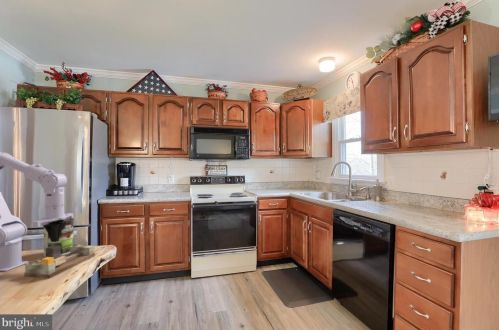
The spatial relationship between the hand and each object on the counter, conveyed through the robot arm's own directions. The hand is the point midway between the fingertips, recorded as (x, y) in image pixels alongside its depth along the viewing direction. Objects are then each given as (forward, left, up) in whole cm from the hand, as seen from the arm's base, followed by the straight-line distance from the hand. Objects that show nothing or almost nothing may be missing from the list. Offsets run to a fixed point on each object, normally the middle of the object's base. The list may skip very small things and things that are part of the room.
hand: (54, 241), depth 92 cm
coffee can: (-11, +12, -10) cm, 19 cm away
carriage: (+2, -3, -7) cm, 8 cm away
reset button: (+5, -8, -5) cm, 11 cm away
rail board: (+2, +1, -9) cm, 10 cm away
